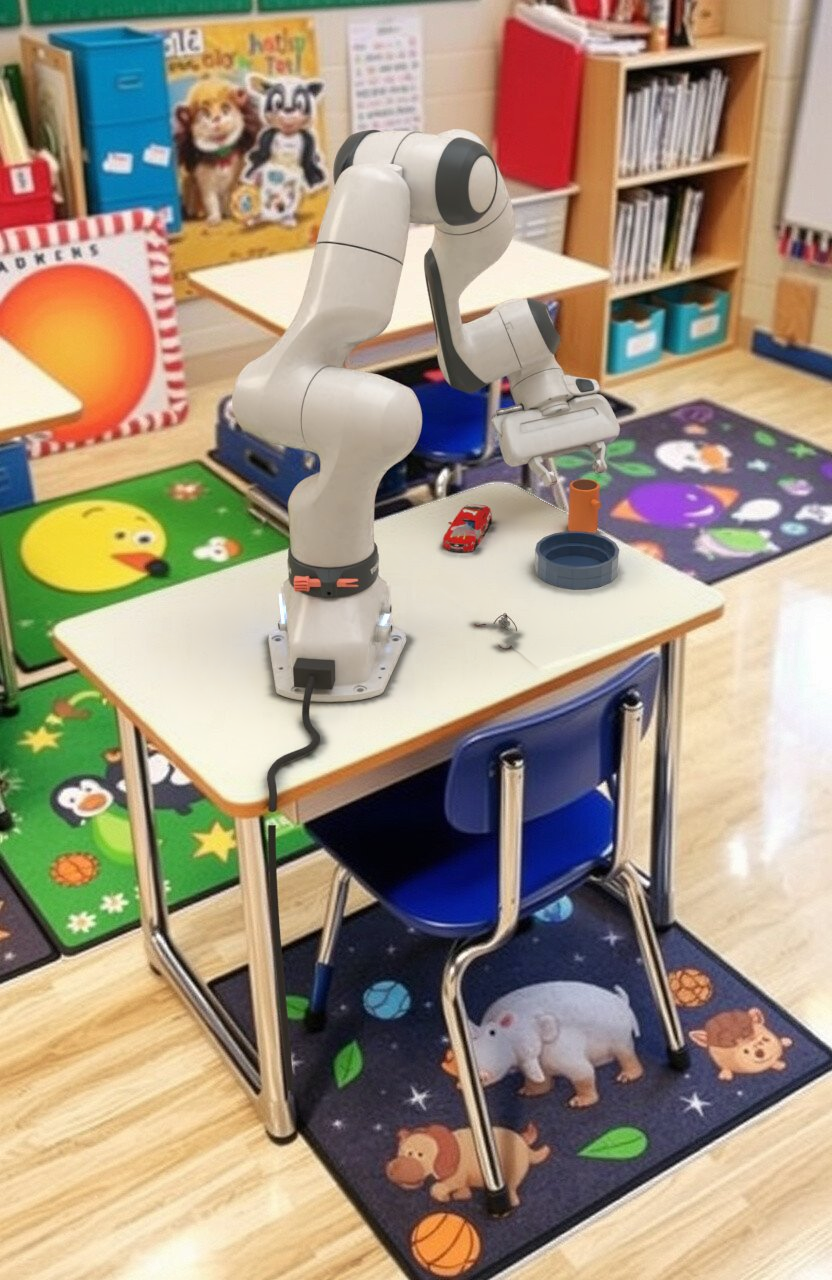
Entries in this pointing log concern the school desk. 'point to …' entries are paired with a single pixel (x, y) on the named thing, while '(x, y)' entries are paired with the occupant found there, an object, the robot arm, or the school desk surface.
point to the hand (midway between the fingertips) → (576, 478)
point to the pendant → (503, 624)
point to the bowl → (576, 560)
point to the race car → (468, 528)
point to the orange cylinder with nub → (583, 505)
